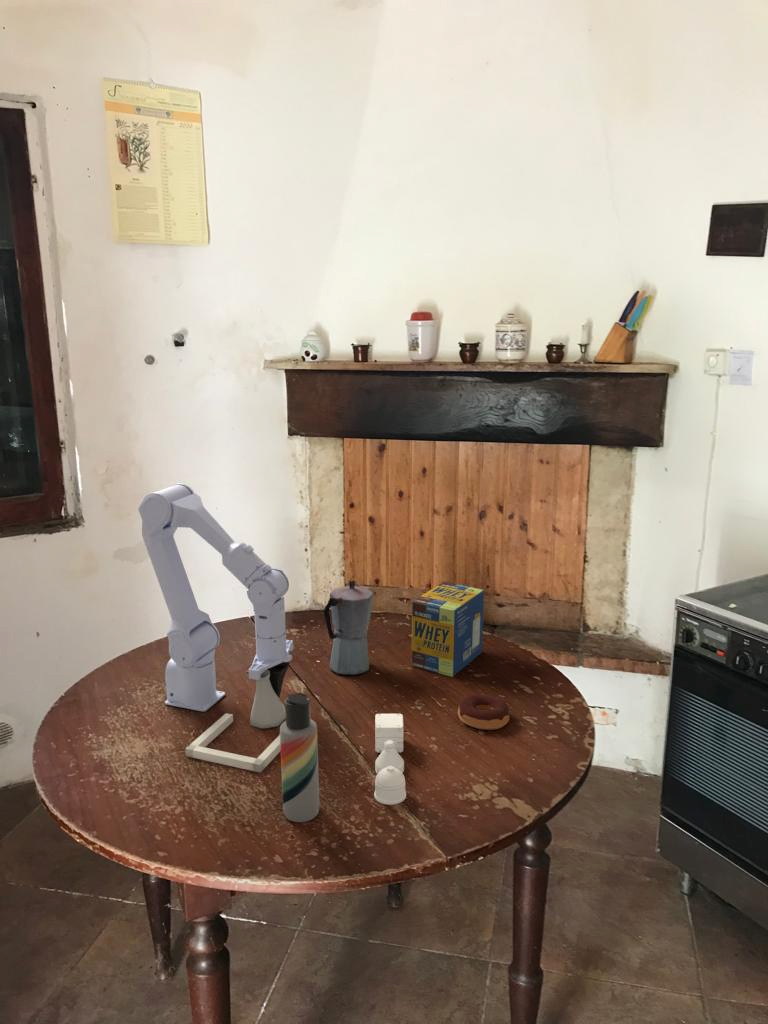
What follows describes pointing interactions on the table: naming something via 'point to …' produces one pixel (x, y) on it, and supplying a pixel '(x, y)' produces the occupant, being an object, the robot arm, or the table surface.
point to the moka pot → (349, 628)
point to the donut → (483, 711)
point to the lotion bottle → (299, 760)
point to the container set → (389, 759)
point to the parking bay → (235, 760)
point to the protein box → (447, 628)
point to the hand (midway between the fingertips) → (273, 697)
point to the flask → (266, 705)
